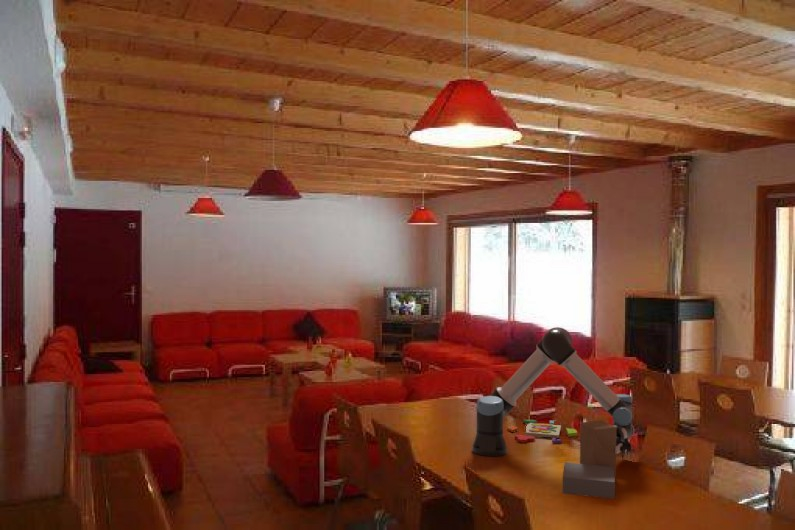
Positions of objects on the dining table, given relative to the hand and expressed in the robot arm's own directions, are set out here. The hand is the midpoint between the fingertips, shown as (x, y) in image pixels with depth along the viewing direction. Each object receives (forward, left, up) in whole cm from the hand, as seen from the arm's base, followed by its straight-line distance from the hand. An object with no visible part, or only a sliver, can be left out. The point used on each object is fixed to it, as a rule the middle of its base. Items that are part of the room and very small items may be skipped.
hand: (598, 447), depth 253 cm
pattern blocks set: (-26, +59, -12) cm, 65 cm away
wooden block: (0, +1, -11) cm, 11 cm away
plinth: (-4, -15, -11) cm, 19 cm away
